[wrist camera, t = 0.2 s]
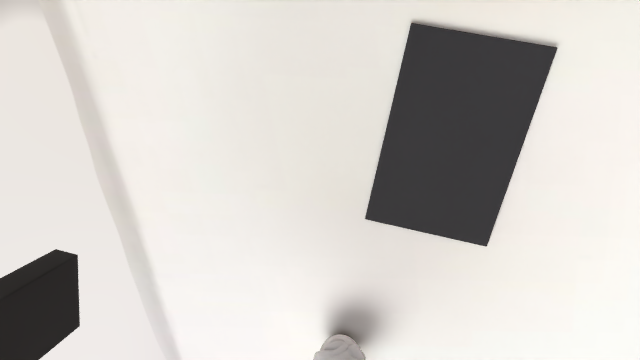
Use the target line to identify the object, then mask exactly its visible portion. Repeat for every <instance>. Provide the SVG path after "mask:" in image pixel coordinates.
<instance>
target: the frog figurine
mask: <svg viewBox="0 0 640 360" xmlns="http://www.w3.org/2000/svg"><path fill="white" fill-rule="evenodd" d="M314 360H365V355H364V354H363V352H362V350H360V347H359V346H358V344H357V343H356V342H355V341H354V340H353V339H352V338H350V337H349V336H346V335H341V334H339V335H334V336H331V337H330V338H328V339H327V340H326V341H325V342H324V343H323V345H322V347H321V349H320V351H318V352H316V353H315V355H314Z"/></svg>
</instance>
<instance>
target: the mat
mask: <svg viewBox="0 0 640 360" xmlns="http://www.w3.org/2000/svg"><path fill="white" fill-rule="evenodd" d="M556 50H557V48H556V47H551V46H545V45H539V44H533V43H527V42H521V41H515V40H509V39H503V38H497V37H491V36H485V35H479V34H473V33H467V32H462V31H456V30H450V29H444V28H438V27H432V26H426V25H420V24H414V23H411V26H410V31H409V35H408V39H407V43H406V48H405V52H404V56H403V60H402V65H401V69H400V73H399V77H398V82H397V86H396V90H395V94H394V99H393V103H392V107H391V111H390V116H389V120H388V124H387V128H386V133H385V137H384V141H383V145H382V150H381V154H380V158H379V162H378V167H377V171H376V175H375V179H374V184H373V188H372V192H371V196H370V201H369V205H368V209H367V213H366V218H365V219H367V220H371V221H376V222H380V223H385V224H389V225H394V226H398V227H402V228H407V229H411V230H416V231H420V232H425V233H429V234H433V235H438V236H442V237H447V238H451V239H456V240H460V241H464V242H469V243H473V244H478V245H482V246H487V243H488V241H489V238H490V235H491V232H492V229H493V227H494V224H495V221H496V218H497V215H498V213H499V210H500V207H501V204H502V201H503V199H504V196H505V193H506V190H507V187H508V185H509V182H510V179H511V176H512V173H513V171H514V168H515V165H516V162H517V159H518V157H519V154H520V151H521V148H522V145H523V143H524V140H525V137H526V134H527V131H528V129H529V126H530V123H531V120H532V117H533V115H534V112H535V109H536V106H537V103H538V101H539V98H540V95H541V92H542V89H543V87H544V84H545V81H546V78H547V75H548V73H549V70H550V67H551V64H552V61H553V59H554V56H555V53H556Z"/></svg>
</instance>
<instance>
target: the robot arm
mask: <svg viewBox="0 0 640 360" xmlns="http://www.w3.org/2000/svg"><path fill="white" fill-rule="evenodd" d="M77 258H78V256H77V255H76V254H72V253H68V252H64V251H60V250H54V251H52V252H50V253H48V254H46V255H44V256H42V257H40V258H38V259H37V260H34V261H33V262H31V263H29V264H27V265H25V266H23V267H21V268H19V269H17V270H15V271H14V272H12V273H10V274H8V275H6V276H4V277H2V278H0V360H39V359H40V358H41V357H43V356H44V355H45V354H46V353H47V352H49V351H50V350H51V349H52V348H54V347H55V346H56V345H57V344H58V343H60V342H61V341H62V340H63V339H64V338H66V337H67V336H68V335H69V334H70V333H72V332H73V331H74V330H75V329H77V328H78V327H79V325H80V324H79V323H80V322H79V289H78V259H77Z"/></svg>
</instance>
